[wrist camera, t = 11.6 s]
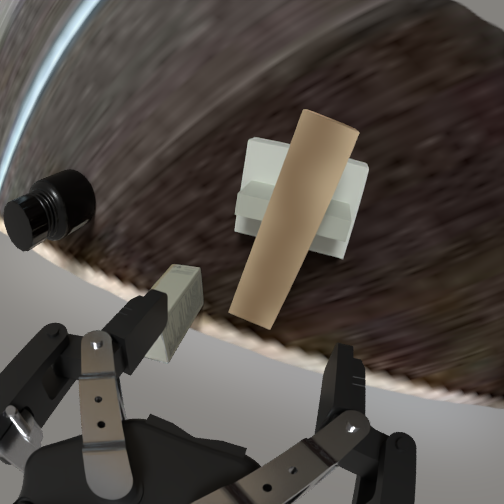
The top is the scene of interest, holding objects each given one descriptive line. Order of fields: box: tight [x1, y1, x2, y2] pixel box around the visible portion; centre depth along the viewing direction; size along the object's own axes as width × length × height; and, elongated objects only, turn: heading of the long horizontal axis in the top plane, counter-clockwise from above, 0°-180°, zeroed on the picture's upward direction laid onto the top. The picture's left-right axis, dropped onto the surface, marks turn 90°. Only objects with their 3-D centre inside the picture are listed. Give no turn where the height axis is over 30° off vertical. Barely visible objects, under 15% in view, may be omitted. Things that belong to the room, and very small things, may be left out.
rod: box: [229, 110, 359, 330], centre depth 25 cm, size 4×18×4 cm, turn 162°
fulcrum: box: [235, 137, 369, 259], centre depth 31 cm, size 12×10×8 cm
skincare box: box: [145, 264, 203, 364], centre depth 38 cm, size 6×4×12 cm
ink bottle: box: [4, 169, 95, 251], centre depth 37 cm, size 10×9×12 cm
